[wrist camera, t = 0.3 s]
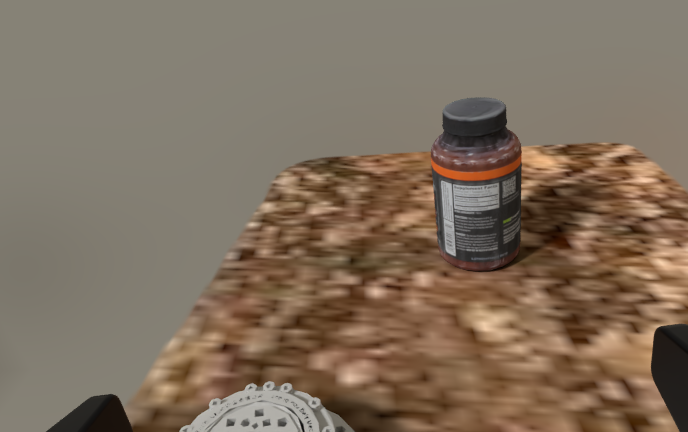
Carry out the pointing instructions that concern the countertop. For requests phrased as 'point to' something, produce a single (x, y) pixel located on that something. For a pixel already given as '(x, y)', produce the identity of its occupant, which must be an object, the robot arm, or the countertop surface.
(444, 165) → the supplement bottle
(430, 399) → the countertop surface
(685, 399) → the robot arm
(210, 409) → the mechanical component
